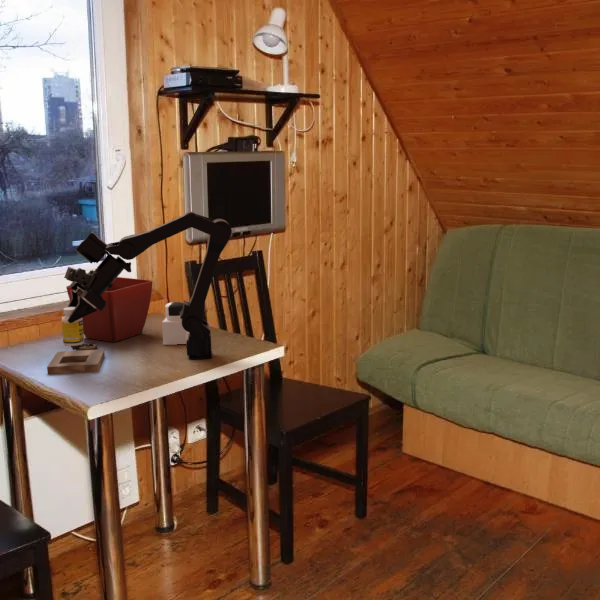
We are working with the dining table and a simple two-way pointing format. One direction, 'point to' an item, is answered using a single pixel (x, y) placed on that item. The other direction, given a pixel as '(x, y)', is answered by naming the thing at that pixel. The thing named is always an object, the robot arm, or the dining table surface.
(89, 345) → the compass
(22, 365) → the dining table surface
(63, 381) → the dining table surface
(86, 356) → the socket board
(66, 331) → the supplement bottle
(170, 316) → the medicine bottle
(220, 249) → the robot arm
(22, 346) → the dining table surface
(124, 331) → the plant pot
